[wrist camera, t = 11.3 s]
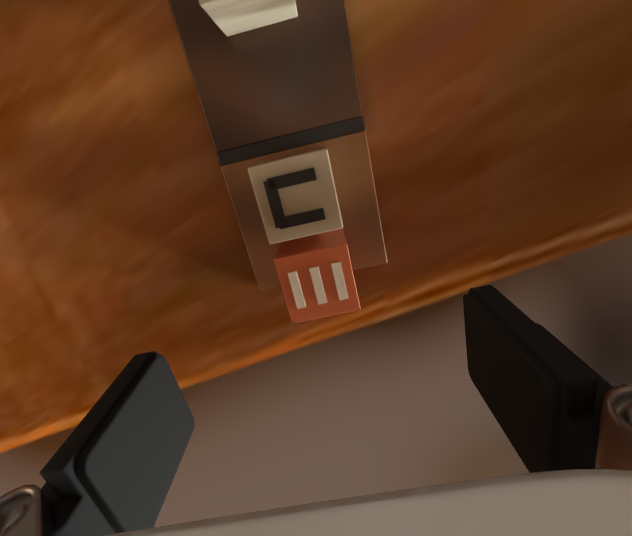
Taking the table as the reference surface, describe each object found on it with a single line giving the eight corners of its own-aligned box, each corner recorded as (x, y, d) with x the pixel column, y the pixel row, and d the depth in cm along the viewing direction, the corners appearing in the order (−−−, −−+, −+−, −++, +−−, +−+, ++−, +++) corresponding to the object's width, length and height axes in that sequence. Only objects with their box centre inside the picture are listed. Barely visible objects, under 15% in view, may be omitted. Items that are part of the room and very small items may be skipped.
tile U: (261, 163, 21) (246, 168, 16) (325, 147, 20) (327, 148, 16) (278, 226, 22) (268, 245, 18) (339, 212, 22) (344, 229, 17)
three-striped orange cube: (281, 237, 22) (273, 260, 18) (341, 224, 22) (347, 243, 18) (296, 292, 23) (291, 324, 19) (353, 280, 23) (361, 310, 19)
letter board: (154, -53, 17) (148, -60, 17) (324, -106, 17) (324, -115, 16) (260, 286, 24) (259, 290, 23) (386, 260, 23) (387, 263, 23)
